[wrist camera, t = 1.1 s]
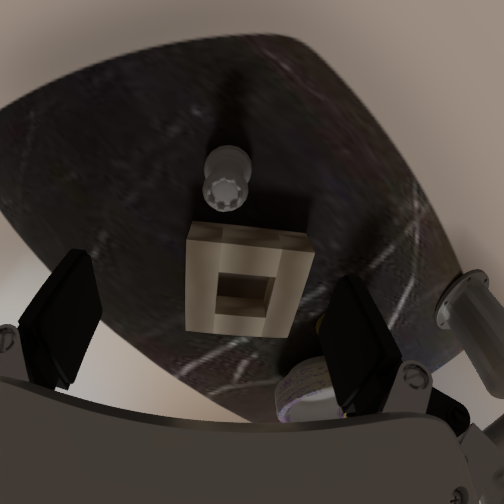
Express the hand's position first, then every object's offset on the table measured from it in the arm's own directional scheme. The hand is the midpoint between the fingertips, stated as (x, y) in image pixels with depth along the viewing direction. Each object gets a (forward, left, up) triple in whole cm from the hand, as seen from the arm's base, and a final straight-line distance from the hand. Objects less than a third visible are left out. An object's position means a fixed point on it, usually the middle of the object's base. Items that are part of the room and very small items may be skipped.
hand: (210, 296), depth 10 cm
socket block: (-3, +12, -18) cm, 22 cm away
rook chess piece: (0, 0, -19) cm, 19 cm away
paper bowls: (-18, +31, -19) cm, 40 cm away
